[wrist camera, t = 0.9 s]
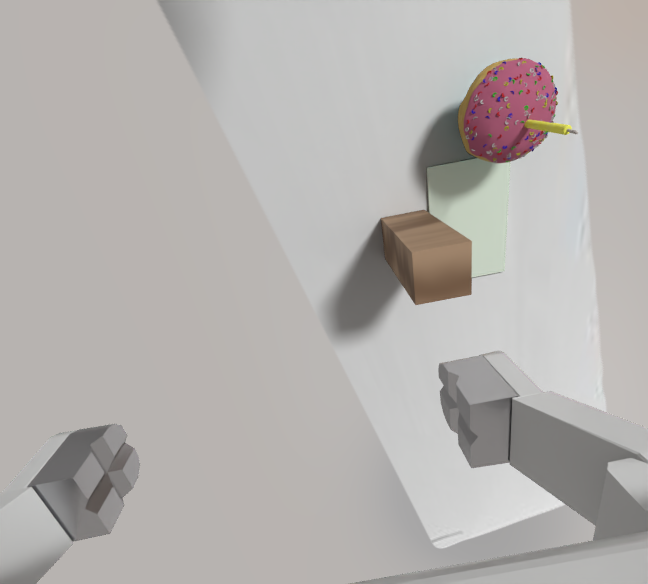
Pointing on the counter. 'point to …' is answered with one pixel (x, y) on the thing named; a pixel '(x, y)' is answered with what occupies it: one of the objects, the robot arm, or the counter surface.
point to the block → (427, 256)
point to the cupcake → (509, 111)
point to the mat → (474, 207)
